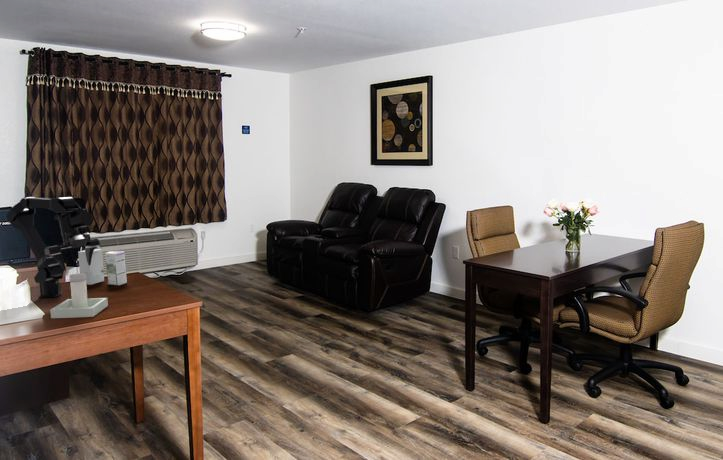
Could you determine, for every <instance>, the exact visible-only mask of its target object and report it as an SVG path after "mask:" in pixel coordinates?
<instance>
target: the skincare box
mask: <svg viewBox="0 0 723 460" xmlns="http://www.w3.org/2000/svg"><path fill="white" fill-rule="evenodd" d="M77 253H78V254H77V255H78V267H79V274H80V273H83V274H86V286H91V285H95V284H98V283H102V282H105V274H104V261H103V259H104V258H103V249H99V248H98V249H97V248H95V249H94V251H93V254H92V259H91V265H88V263H87V258H86V253H85V249H84V250H80V251H78V252H77Z"/></svg>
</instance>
